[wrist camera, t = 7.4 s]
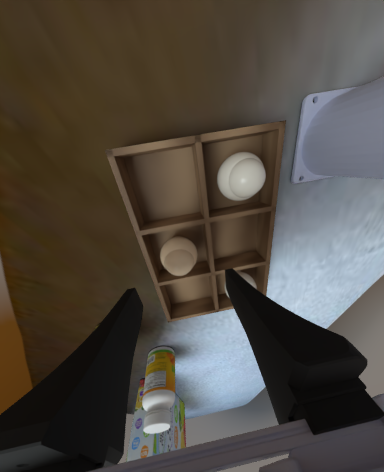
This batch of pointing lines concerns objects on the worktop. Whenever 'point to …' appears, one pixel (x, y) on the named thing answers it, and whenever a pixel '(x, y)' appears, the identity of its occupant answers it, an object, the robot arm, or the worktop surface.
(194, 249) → the beige egg
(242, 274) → the cream egg far
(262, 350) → the robot arm
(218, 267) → the egg tray
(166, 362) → the supplement bottle
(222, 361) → the worktop surface
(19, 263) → the worktop surface
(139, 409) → the snack box
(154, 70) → the worktop surface
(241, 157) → the cream egg near
